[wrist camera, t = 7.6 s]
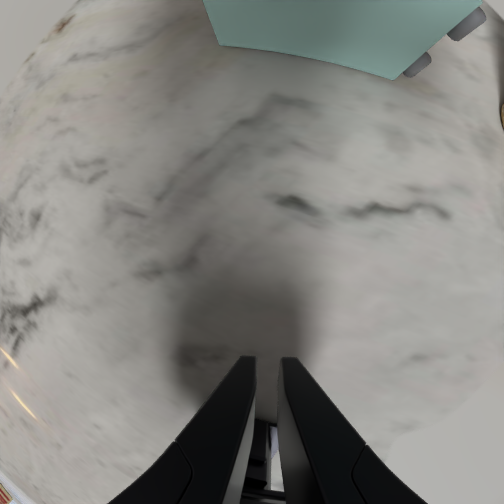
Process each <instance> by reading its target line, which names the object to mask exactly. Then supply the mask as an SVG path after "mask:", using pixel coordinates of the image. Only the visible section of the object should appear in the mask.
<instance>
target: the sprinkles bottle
mask: <svg viewBox="0 0 504 504" xmlns="http://www.w3.org/2000/svg"><path fill="white" fill-rule="evenodd" d="M501 116H502V122H503V127H504V104H503V106H502V113H501Z"/></svg>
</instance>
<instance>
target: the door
mask: <svg viewBox="0 0 504 504" xmlns="http://www.w3.org/2000/svg"><path fill="white" fill-rule="evenodd" d="M202 1H203V3H204V6H205V9H206V11H207V14H208V16H209V19H210V22H211V24H212V27H213V30H214V32H215V35H216V38H217V40H218V43H219V45H221V46H233V47H243V48H251V49H259V50H266V51H273V52H280V53H286V54H291V55H297V56H302V57H307V58H312V59H317V60H321V61H326V62H330V63H334V64H338V65H342V66H346V67H350V68H354V69H357V70H361V71H364V72H368V73H371V74H374V75H378V76H381V77H384V78H387V79H390V80H395V79H396V78H397V77H398V76H399V75H400V74H401V73H402V72H403V74H404V75H405V76H407V77H413V76H415V75H416V74H417V73H418V72H420V71H421V70H422V69H424V68H425V67H426V66H427V65H429V64H430V63H431V57H430V55H429V54H428V53H427V52H426V51H427V50H428V49H429V48H431V47H432V46H433V45H434V44H435V43H436V42H437V41H439V40H440V39H441V38H442V37H443V36H444V35H446V34H447V35H448V36H449V37H450V38H451V39H452V40H454V41H460V40H461V39H462V38H464V37H465V36H466V35H468V34H469V33H470V32H472V31H473V30H474V29H476V28H477V27H478V26H480V25H481V24H482V23H484V22H485V21H486V15H485V13H484V12H483V10H482V9H481V8H480V7H479V6H480V5H481V4H482V3H483V2H482V0H202Z"/></svg>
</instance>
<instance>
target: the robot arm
mask: <svg viewBox="0 0 504 504" xmlns="http://www.w3.org/2000/svg"><path fill="white" fill-rule="evenodd" d="M256 384H257V357H256V356H246V355H242V356H240V358H239V359H238V360H237V362H236V363H235V364H234V365H233V367H232V368H231V369H230V371H229V372H228V373H227V375H226V376H225V377H224V379H223V380H222V381H221V382H220V384H219V385H218V386H217V388H216V389H215V390H214V391H213V393H212V394H211V395H210V396H209V398H208V399H207V400H206V402H205V403H204V404H203V405H202V407H201V408H200V409H199V410H198V412H197V413H196V414H195V415H194V417H193V418H192V419H191V420H190V421H189V423H188V424H187V425H186V426H185V428H184V429H183V430H182V431H181V433H180V434H179V435H178V436H177V437H176V439H175V441H173V442H172V443H171V444H170V446H169V447H168V448H167V449H166V450H165V452H164V453H163V454H162V455H161V456H160V457H159V458H158V459H157V460H156V461H155V462H154V464H153V465H152V466H151V467H150V468H149V469H148V470H146V471H145V472H144V473H143V474H142V475H141V476H140V477H139V478H138V479H137V480H136V481H134V482H133V483H132V484H131V485H130V486H128V487H127V488H126V489H125V490H124V491H122V492H121V493H120V494H119V495H117V496H116V497H115V498H114V499H113V500H111V501H110V502H109V503H108V504H428V503H426V502H425V501H424V500H423V499H422V498H420V497H419V496H418V495H417V494H416V493H415V492H413V491H412V490H411V489H410V488H409V487H408V486H407V485H405V484H404V483H403V482H402V481H401V480H400V479H399V478H398V477H397V476H396V475H395V474H394V473H393V472H391V470H390V469H389V468H388V467H387V466H386V465H385V464H384V463H383V462H382V461H381V460H380V458H379V457H378V456H377V455H376V454H375V453H374V452H373V450H372V449H371V448H370V447H369V445H366V442H365V441H364V440H363V438H362V437H361V436H360V435H359V434H358V432H357V431H356V430H355V429H354V428H353V426H352V425H351V424H350V423H349V421H348V420H347V419H346V418H345V417H344V415H343V414H342V413H341V412H340V410H339V409H338V408H337V407H336V406H335V404H334V403H333V402H332V401H331V399H330V398H329V397H328V396H327V394H326V393H325V392H324V391H323V389H322V388H321V387H320V386H319V384H318V383H317V382H316V381H315V379H314V378H313V377H312V376H311V374H310V373H309V372H308V371H307V369H306V368H305V367H304V366H303V364H302V363H301V362H300V361H299V359H298V358H296V357H282V358H281V360H280V368H279V376H278V406H277V424H274V423H270V422H266V421H263V420H259V419H256V418H254V415H255V400H256ZM278 449H279V454H280V462H281V469H282V477H283V485H284V492H282V491H274V490H271V459H272V458H273V456H274V455H275V453H276V452H277V450H278Z"/></svg>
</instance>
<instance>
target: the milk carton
mask: <svg viewBox="0 0 504 504" xmlns="http://www.w3.org/2000/svg"><path fill="white" fill-rule="evenodd" d="M12 500H13V499H12V498H11V496H10V495H9V494H8V493H7V491H6V490H5V489H4V488H3V486H2V485H1V484H0V504H9V503H10V502H11V501H12Z"/></svg>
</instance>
